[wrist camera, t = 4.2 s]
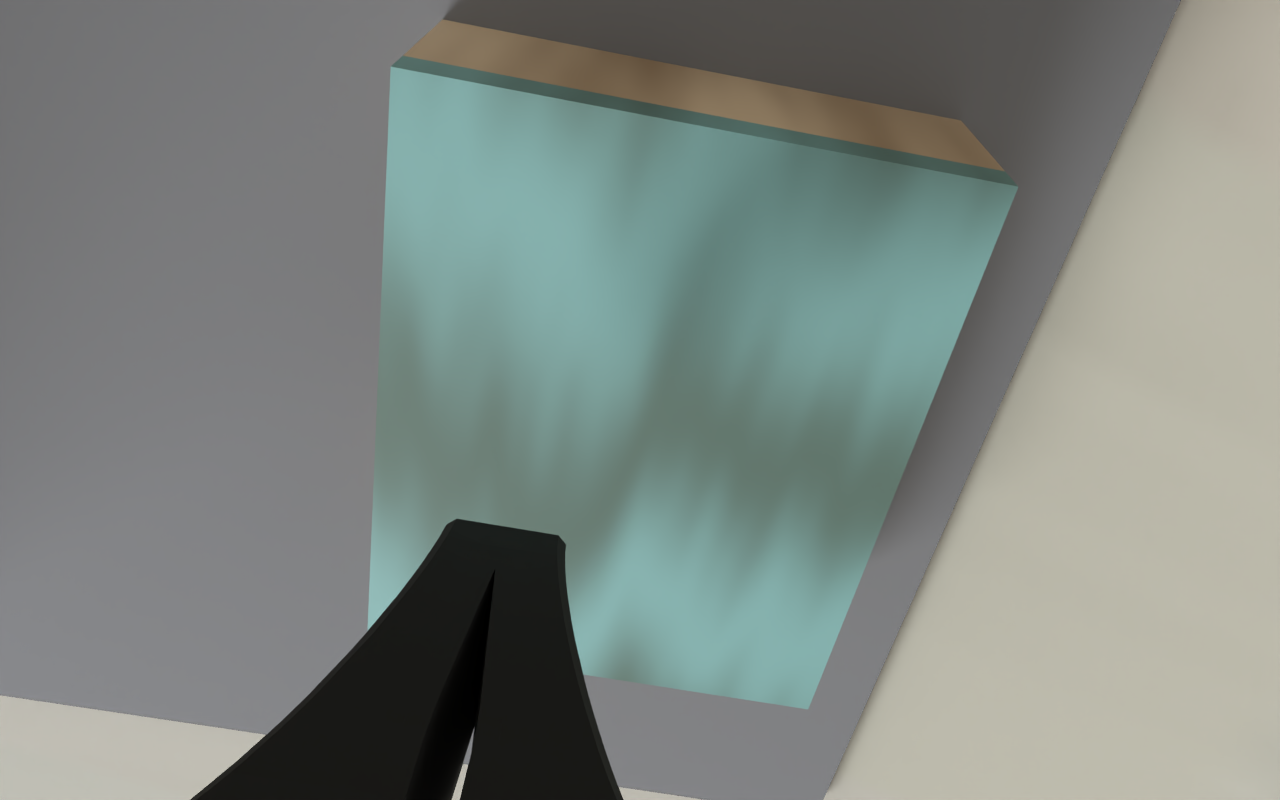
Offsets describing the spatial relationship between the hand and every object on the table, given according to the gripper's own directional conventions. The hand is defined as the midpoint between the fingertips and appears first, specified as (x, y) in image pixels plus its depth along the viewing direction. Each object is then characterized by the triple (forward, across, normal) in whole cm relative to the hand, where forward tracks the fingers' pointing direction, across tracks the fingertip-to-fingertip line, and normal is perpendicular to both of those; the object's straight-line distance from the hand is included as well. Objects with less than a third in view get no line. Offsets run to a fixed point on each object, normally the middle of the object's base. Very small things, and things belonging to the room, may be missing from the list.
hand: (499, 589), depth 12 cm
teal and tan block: (+5, +2, 0) cm, 5 cm away
